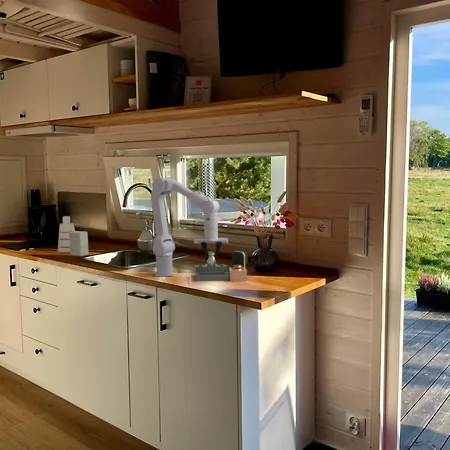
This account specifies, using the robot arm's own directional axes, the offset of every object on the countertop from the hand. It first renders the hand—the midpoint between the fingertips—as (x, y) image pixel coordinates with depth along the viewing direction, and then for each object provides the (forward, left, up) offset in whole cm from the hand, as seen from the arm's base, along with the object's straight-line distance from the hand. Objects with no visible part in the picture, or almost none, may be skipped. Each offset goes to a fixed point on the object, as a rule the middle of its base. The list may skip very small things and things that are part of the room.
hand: (211, 259), depth 212 cm
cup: (+2, +11, -9) cm, 14 cm away
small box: (-70, -71, -9) cm, 100 cm away
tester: (-2, 0, -9) cm, 9 cm away
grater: (-86, -81, -9) cm, 118 cm away
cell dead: (+2, +11, -8) cm, 14 cm away
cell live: (0, 0, -3) cm, 3 cm away
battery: (-6, +13, -9) cm, 17 cm away
